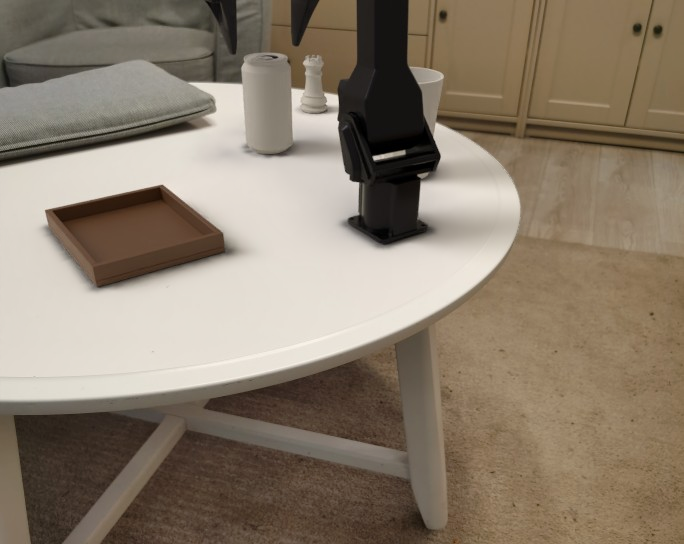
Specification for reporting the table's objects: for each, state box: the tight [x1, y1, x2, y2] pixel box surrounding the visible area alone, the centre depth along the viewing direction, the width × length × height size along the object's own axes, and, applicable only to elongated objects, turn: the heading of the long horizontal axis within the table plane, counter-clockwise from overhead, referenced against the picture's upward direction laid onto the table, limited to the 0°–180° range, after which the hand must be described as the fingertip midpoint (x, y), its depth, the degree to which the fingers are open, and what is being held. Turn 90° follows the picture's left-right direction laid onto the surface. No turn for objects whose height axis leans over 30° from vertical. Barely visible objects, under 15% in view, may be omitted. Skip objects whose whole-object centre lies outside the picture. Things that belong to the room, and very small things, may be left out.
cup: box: [379, 66, 445, 180], centre depth 88 cm, size 8×8×12 cm
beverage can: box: [240, 52, 294, 155], centre depth 94 cm, size 6×6×12 cm
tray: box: [44, 184, 226, 288], centre depth 73 cm, size 15×13×2 cm
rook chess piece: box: [299, 54, 329, 114], centre depth 111 cm, size 4×4×8 cm
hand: (264, 50), depth 90 cm, fingers open, 9 cm apart
